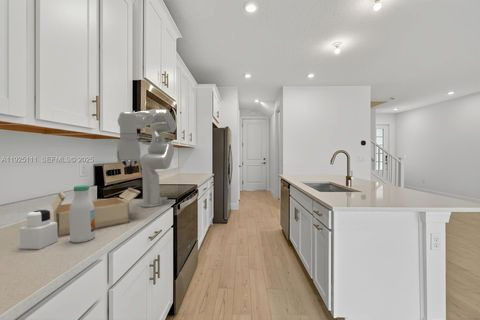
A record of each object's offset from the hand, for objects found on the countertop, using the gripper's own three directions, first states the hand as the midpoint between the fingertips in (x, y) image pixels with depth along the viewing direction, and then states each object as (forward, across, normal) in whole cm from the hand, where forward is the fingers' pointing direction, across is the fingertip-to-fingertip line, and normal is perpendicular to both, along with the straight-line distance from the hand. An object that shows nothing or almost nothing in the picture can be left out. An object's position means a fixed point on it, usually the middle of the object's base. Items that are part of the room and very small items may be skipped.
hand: (129, 174), depth 113 cm
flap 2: (+12, +3, 0) cm, 12 cm away
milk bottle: (+21, +23, +20) cm, 37 cm away
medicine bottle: (+21, +35, +16) cm, 44 cm away
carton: (+21, +17, +1) cm, 27 cm away
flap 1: (+12, +30, 0) cm, 32 cm away
